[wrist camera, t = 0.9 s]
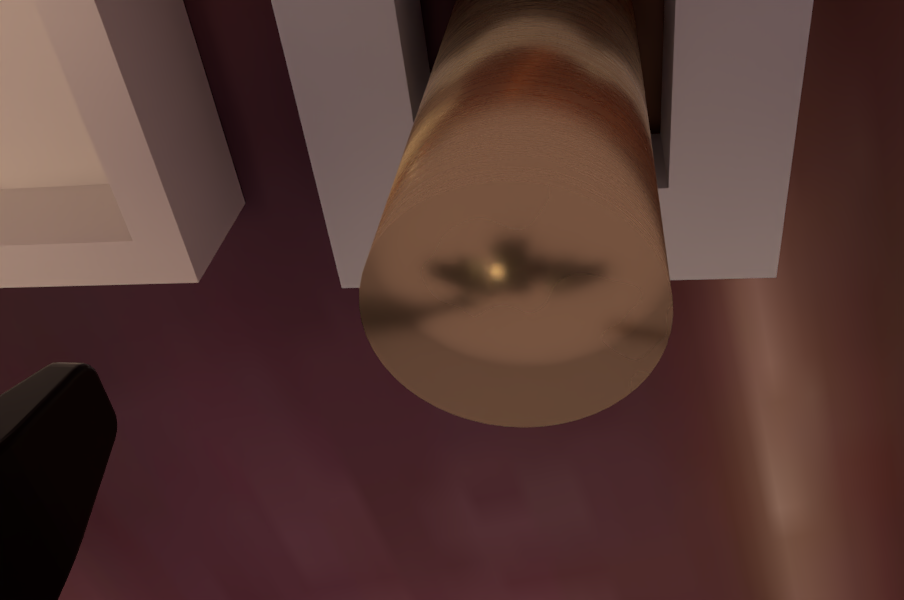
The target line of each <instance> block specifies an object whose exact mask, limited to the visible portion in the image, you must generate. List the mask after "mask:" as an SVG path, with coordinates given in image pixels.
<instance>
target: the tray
mask: <svg viewBox="0 0 904 600" xmlns="http://www.w3.org/2000/svg"><path fill="white" fill-rule="evenodd" d="M244 205H245V201H244V197H243V194H242V191H241V188H240V184H239V181H238V178H237V175H236V171H235V168H234V165H233V162H232V158H231V155H230V152H229V149H228V145H227V142H226V139H225V136H224V132H223V129H222V126H221V123H220V119H219V116H218V113H217V109H216V106H215V103H214V100H213V96H212V93H211V90H210V87H209V83H208V80H207V77H206V74H205V70H204V67H203V64H202V61H201V57H200V54H199V51H198V48H197V44H196V41H195V38H194V35H193V31H192V28H191V25H190V22H189V18H188V15H187V12H186V9H185V5H184V2H183V0H0V288H12V287H51V286H89V285H127V284H165V283H199V281H200V279H201V278H202V276H203V274H204V273H205V271H206V269H207V268H208V266H209V264H210V262H211V261H212V259H213V257H214V256H215V254H216V252H217V251H218V249H219V247H220V246H221V244H222V242H223V240H224V239H225V237H226V235H227V234H228V232H229V230H230V229H231V227H232V225H233V224H234V222H235V220H236V218H237V217H238V215H239V213H240V212H241V210H242V208H243V207H244Z"/></svg>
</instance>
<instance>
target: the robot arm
mask: <svg viewBox="0 0 904 600" xmlns="http://www.w3.org/2000/svg"><path fill="white" fill-rule="evenodd" d="M116 432H117V419H116V414H115V412H114V409H113V407H112V405H111V403H110V400H109V398H108V396H107V394H106V392H105V389H104V387H103V385H102V383H101V381H100V378H99V376H98V374H97V372H96V371H95V369H94V368H93V367H91V366H90V365H88V364H85V363H67V362H57V363H52V364H49V365H48V366H46V367H44V368H43V369H41V370H39V371H38V372H36V373H35V374H33V375H32V376H30V377H28V378H27V379H25V380H24V381H22V382H20V383H19V384H17V385H16V386H14V387H13V388H11V389H9V390H8V391H6V392H5V393H3V394H1V395H0V600H58V598H59V596H60V593H61V591H62V589H63V587H64V585H65V582H66V580H67V578H68V575H69V573H70V570H71V568H72V566H73V563H74V561H75V558H76V556H77V553H78V550H79V547H80V545H81V542H82V539H83V536H84V533H85V530H86V527H87V524H88V521H89V518H90V515H91V512H92V508H93V505H94V502H95V499H96V496H97V493H98V490H99V487H100V484H101V481H102V478H103V475H104V472H105V468H106V465H107V462H108V459H109V456H110V453H111V450H112V447H113V444H114V441H115V437H116Z"/></svg>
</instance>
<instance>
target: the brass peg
mask: <svg viewBox="0 0 904 600" xmlns="http://www.w3.org/2000/svg"><path fill="white" fill-rule="evenodd" d="M359 308H360V314H361V321H362V324H363V327H364V330H365V333H366V336H367V338H368V340H369V342H370V344H371V346H372V349H373V350H374V352H375V353H376V355H377V356H378V358H379V359H380V361H381V362H382V364H383V365H384V366H385V367H386V368H387V370H388V371H389V372H390V373H391V374H392V375H393V376H394V377H395V378H396V379H397V380H398V381H399V382H400V383H401V384H402V385H404V386H405V387H406V388H407V389H408V390H410V391H411V392H413V393H414V394H415V395H417V396H418V397H420V398H421V399H423V400H425V401H426V402H428V403H430V404H432V405H433V406H435V407H437V408H440V409H442V410H444V411H446V412H449V413H451V414H453V415H456V416H459V417H462V418H465V419H468V420H472V421H476V422H481V423H485V424H491V425H498V426H505V427H543V426H550V425H557V424H563V423H567V422H571V421H575V420H579V419H582V418H584V417H587V416H590V415H593V414H595V413H598V412H600V411H602V410H604V409H606V408H608V407H610V406H612V405H613V404H615V403H617V402H618V401H620V400H621V399H623V398H625V397H626V396H627V395H628V394H630V393H631V392H632V391H633V390H635V389H636V388H637V387H638V386H639V385H640V384H641V383H642V382H643V381H644V380H645V379H646V378H647V377H648V376H649V375H650V373H651V372H652V370H653V369H654V368H655V366H656V365H657V363H658V362H659V360H660V358H661V356H662V354H663V352H664V350H665V348H666V346H667V342H668V339H669V336H670V333H671V327H672V320H673V300H672V291H671V284H670V277H669V269H668V262H667V254H666V247H665V239H664V232H663V224H662V217H661V209H660V202H659V194H658V187H657V180H656V172H655V165H654V157H653V150H652V142H651V135H650V127H649V120H648V112H647V105H646V98H645V90H644V83H643V75H642V68H641V60H640V53H639V45H638V38H637V30H636V23H635V16H634V10H633V5H632V0H456V2H455V5H454V7H453V10H452V13H451V16H450V19H449V22H448V25H447V28H446V31H445V34H444V37H443V39H442V42H441V45H440V48H439V51H438V54H437V57H436V60H435V63H434V66H433V69H432V71H431V74H430V77H429V80H428V83H427V86H426V89H425V92H424V95H423V98H422V101H421V104H420V106H419V109H418V112H417V115H416V118H415V121H414V124H413V127H412V130H411V133H410V136H409V138H408V141H407V144H406V147H405V150H404V153H403V156H402V159H401V162H400V165H399V168H398V170H397V173H396V176H395V179H394V182H393V185H392V188H391V191H390V194H389V197H388V200H387V202H386V205H385V208H384V211H383V214H382V217H381V220H380V223H379V226H378V229H377V232H376V234H375V237H374V240H373V243H372V246H371V249H370V252H369V255H368V258H367V261H366V264H365V266H364V269H363V272H362V277H361V282H360V288H359Z"/></svg>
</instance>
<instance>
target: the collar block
mask: <svg viewBox="0 0 904 600" xmlns="http://www.w3.org/2000/svg"><path fill="white" fill-rule="evenodd" d="M813 1H814V0H664V24H663V58H662V92H661V125H660V134H650V135H651V142H652V150H653V157H654V165H655V172H656V180H657V187H658V194H659V202H660V209H661V217H662V224H663V232H664V239H665V247H666V254H667V262H668V269H669V277H670V280H700V279H741V278H776V276H777V269H778V261H779V254H780V247H781V239H782V232H783V224H784V217H785V209H786V202H787V195H788V187H789V180H790V172H791V165H792V157H793V150H794V142H795V135H796V128H797V120H798V113H799V105H800V98H801V90H802V83H803V75H804V68H805V61H806V53H807V46H808V38H809V31H810V23H811V16H812V9H813ZM271 3H272V7H273V11H274V15H275V19H276V23H277V27H278V31H279V35H280V39H281V43H282V47H283V51H284V55H285V59H286V64H287V68H288V72H289V76H290V80H291V84H292V88H293V92H294V96H295V100H296V104H297V108H298V112H299V116H300V120H301V125H302V129H303V133H304V137H305V141H306V145H307V149H308V153H309V157H310V161H311V165H312V169H313V173H314V177H315V181H316V186H317V190H318V194H319V198H320V202H321V206H322V210H323V214H324V218H325V222H326V226H327V230H328V234H329V238H330V242H331V247H332V251H333V255H334V259H335V263H336V267H337V271H338V275H339V279H340V283H341V287H342V288H360V282H361V277H362V272H363V269H364V266H365V264H366V261H367V258H368V255H369V252H370V249H371V246H372V243H373V240H374V237H375V234H376V232H377V229H378V226H379V223H380V220H381V217H382V214H383V211H384V208H385V205H386V202H387V200H388V197H389V194H390V191H391V188H392V185H393V182H394V179H395V176H396V173H397V170H398V168H399V165H400V162H401V159H402V156H403V153H404V150H405V147H406V144H407V141H408V138H409V136H410V133H411V130H412V127H413V124H414V121H415V118H416V115H417V112H418V109H419V106H420V104H421V101H422V98H423V95H424V92H425V89H426V86H427V83H428V80H429V77H430V68H429V61H428V54H427V47H426V40H425V33H424V26H423V19H422V12H421V5H420V0H271Z"/></svg>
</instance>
